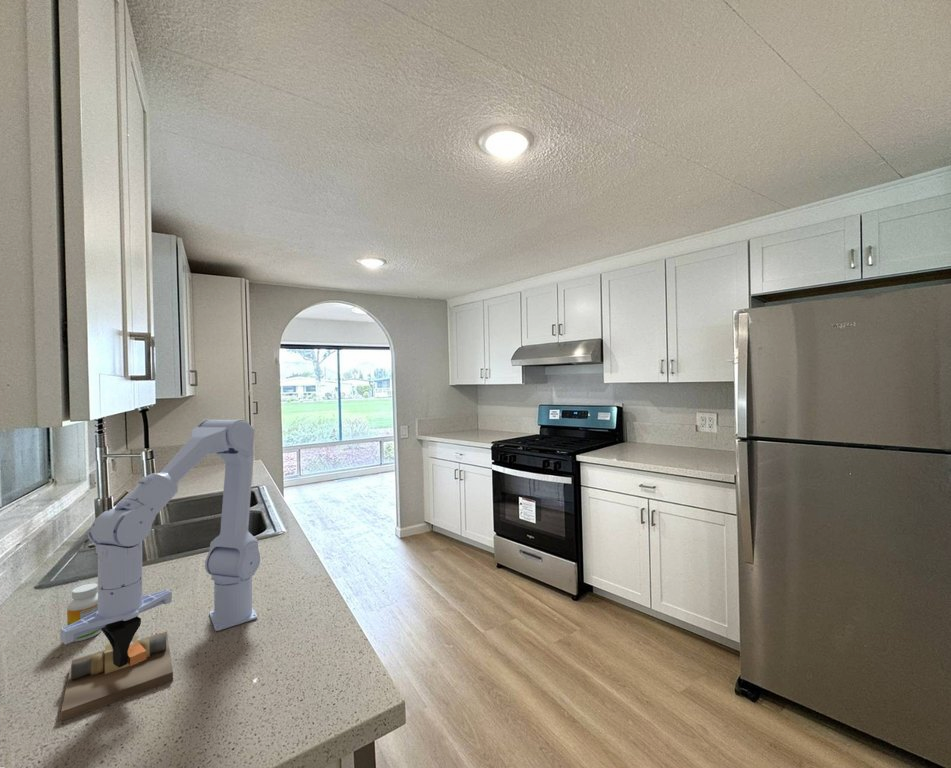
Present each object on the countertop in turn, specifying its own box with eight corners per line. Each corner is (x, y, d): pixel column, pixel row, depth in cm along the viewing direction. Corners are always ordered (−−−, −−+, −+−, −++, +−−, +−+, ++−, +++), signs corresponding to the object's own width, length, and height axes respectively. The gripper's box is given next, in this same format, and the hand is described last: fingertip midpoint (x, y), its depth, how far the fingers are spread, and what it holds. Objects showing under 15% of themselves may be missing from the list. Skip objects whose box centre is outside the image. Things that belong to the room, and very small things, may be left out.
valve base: (72, 668, 78) (71, 640, 78) (166, 638, 86) (166, 613, 87) (61, 721, 65) (60, 688, 65) (173, 680, 74) (172, 651, 74)
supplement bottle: (64, 636, 88) (64, 589, 88) (99, 624, 92) (98, 579, 92) (70, 645, 85) (70, 596, 85) (105, 633, 89) (105, 586, 89)
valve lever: (112, 643, 76) (112, 635, 76) (127, 637, 78) (127, 629, 78) (130, 666, 70) (130, 657, 70) (146, 659, 72) (146, 650, 72)
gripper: (73, 607, 63) (73, 700, 63) (180, 570, 76) (180, 647, 75) (54, 596, 66) (54, 684, 66) (160, 562, 79) (160, 636, 79)
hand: (120, 663), depth 71 cm, fingers closed, pressing on valve lever
